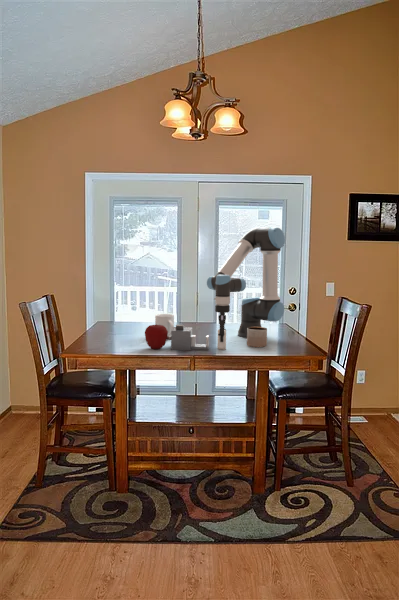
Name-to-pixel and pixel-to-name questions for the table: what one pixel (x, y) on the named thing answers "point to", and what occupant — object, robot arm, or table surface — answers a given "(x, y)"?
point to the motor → (185, 339)
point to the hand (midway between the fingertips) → (221, 345)
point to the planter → (256, 336)
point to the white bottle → (224, 341)
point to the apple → (156, 336)
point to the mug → (165, 321)
